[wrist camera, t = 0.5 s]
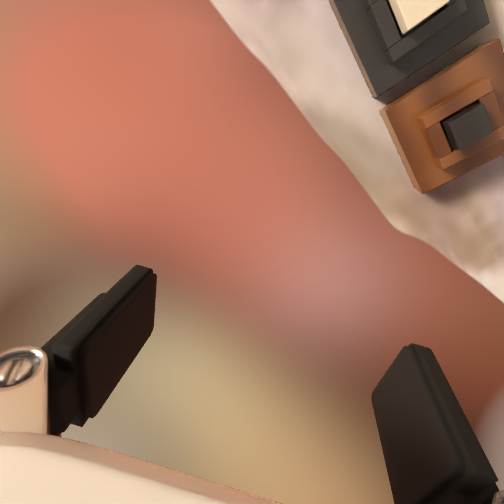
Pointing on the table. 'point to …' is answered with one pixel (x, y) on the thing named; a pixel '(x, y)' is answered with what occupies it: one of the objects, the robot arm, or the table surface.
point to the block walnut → (442, 108)
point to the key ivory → (414, 11)
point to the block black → (402, 37)
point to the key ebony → (468, 126)
